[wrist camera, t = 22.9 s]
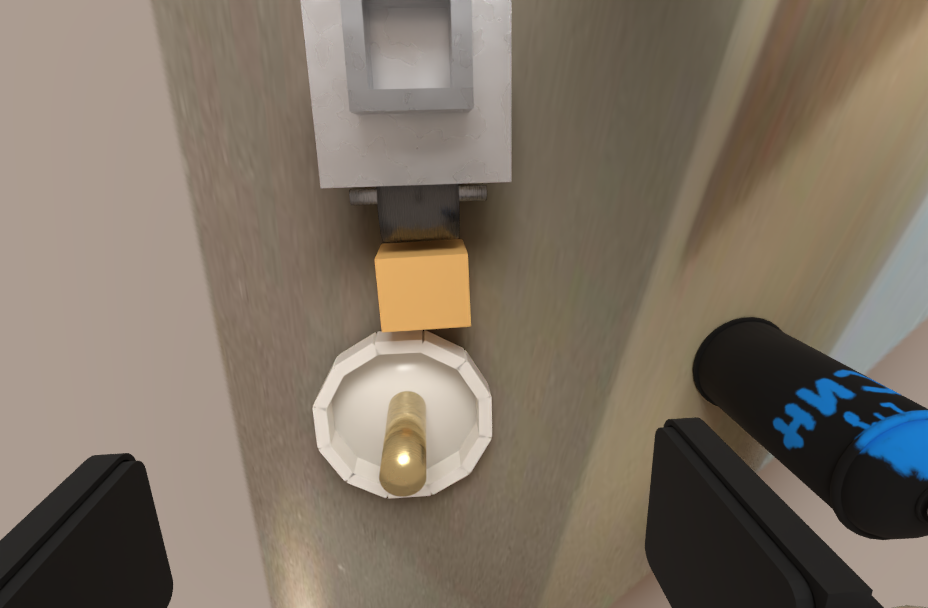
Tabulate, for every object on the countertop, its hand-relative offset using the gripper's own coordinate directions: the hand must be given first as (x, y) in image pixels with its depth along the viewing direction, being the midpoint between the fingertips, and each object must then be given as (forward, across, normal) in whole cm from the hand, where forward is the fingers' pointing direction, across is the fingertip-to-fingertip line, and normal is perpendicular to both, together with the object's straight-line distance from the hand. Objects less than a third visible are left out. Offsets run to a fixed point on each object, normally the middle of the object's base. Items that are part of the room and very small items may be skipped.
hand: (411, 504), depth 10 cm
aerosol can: (+31, -26, +12) cm, 42 cm away
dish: (+30, +2, +14) cm, 33 cm away
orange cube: (+30, 0, +3) cm, 31 cm away
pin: (+30, +2, +14) cm, 33 cm away
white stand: (+30, 0, -8) cm, 31 cm away
